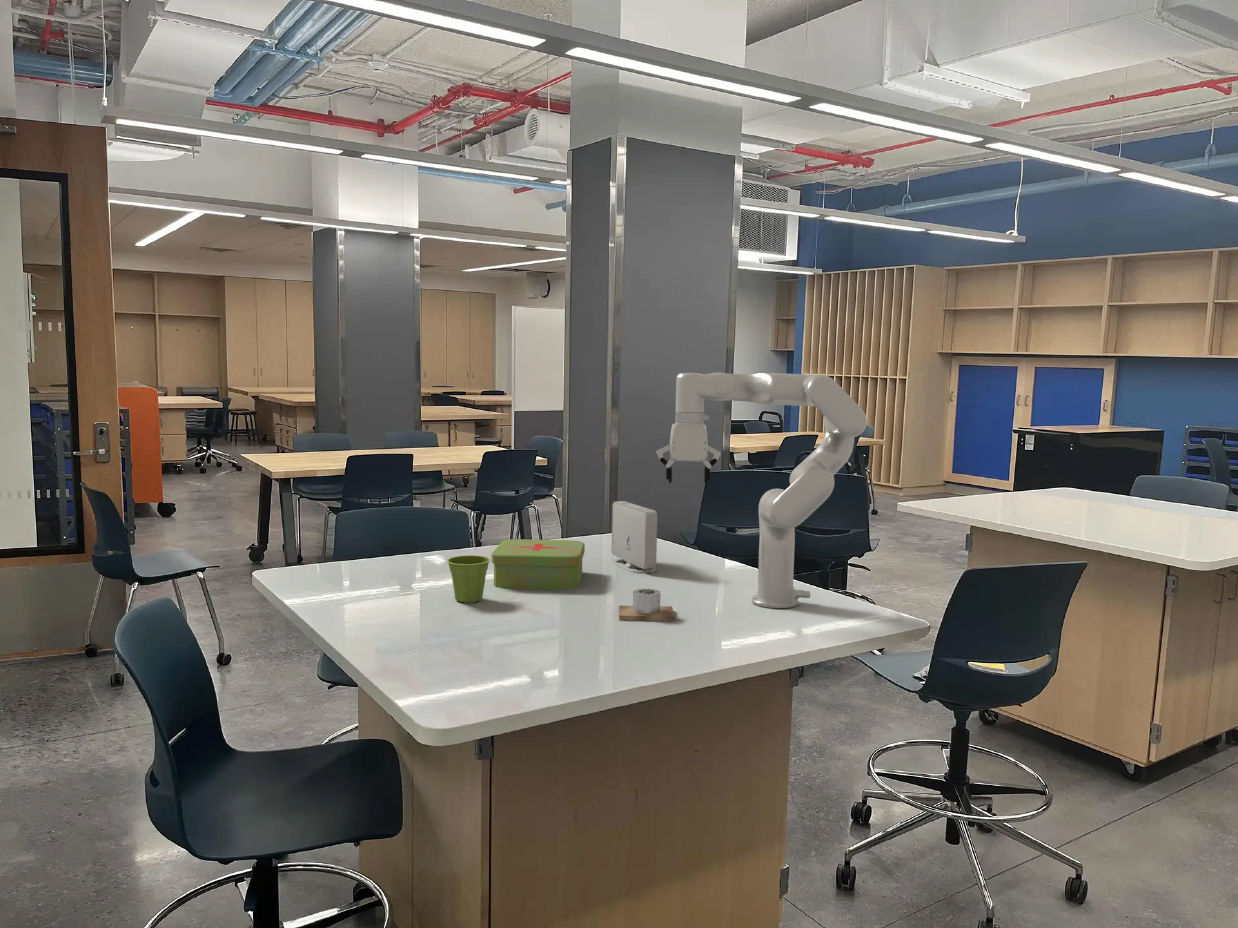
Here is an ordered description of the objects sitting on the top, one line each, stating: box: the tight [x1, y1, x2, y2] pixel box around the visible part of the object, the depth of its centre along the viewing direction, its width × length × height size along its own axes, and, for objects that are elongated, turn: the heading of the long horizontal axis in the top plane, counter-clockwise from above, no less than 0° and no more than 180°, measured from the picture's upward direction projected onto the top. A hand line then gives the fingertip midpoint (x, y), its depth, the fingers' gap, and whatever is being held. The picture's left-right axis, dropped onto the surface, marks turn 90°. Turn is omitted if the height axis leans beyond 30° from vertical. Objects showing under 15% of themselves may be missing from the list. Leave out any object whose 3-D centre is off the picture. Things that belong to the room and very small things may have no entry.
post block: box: [618, 591, 676, 622], centre depth 232 cm, size 14×10×6 cm
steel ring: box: [632, 588, 662, 615], centre depth 231 cm, size 7×7×5 cm
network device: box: [611, 500, 658, 574], centre depth 291 cm, size 26×9×20 cm, turn 25°
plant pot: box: [446, 554, 492, 604], centre depth 244 cm, size 12×12×11 cm
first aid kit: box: [491, 538, 586, 590], centre depth 271 cm, size 26×26×10 cm
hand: (687, 482), depth 242 cm, fingers open, 9 cm apart
